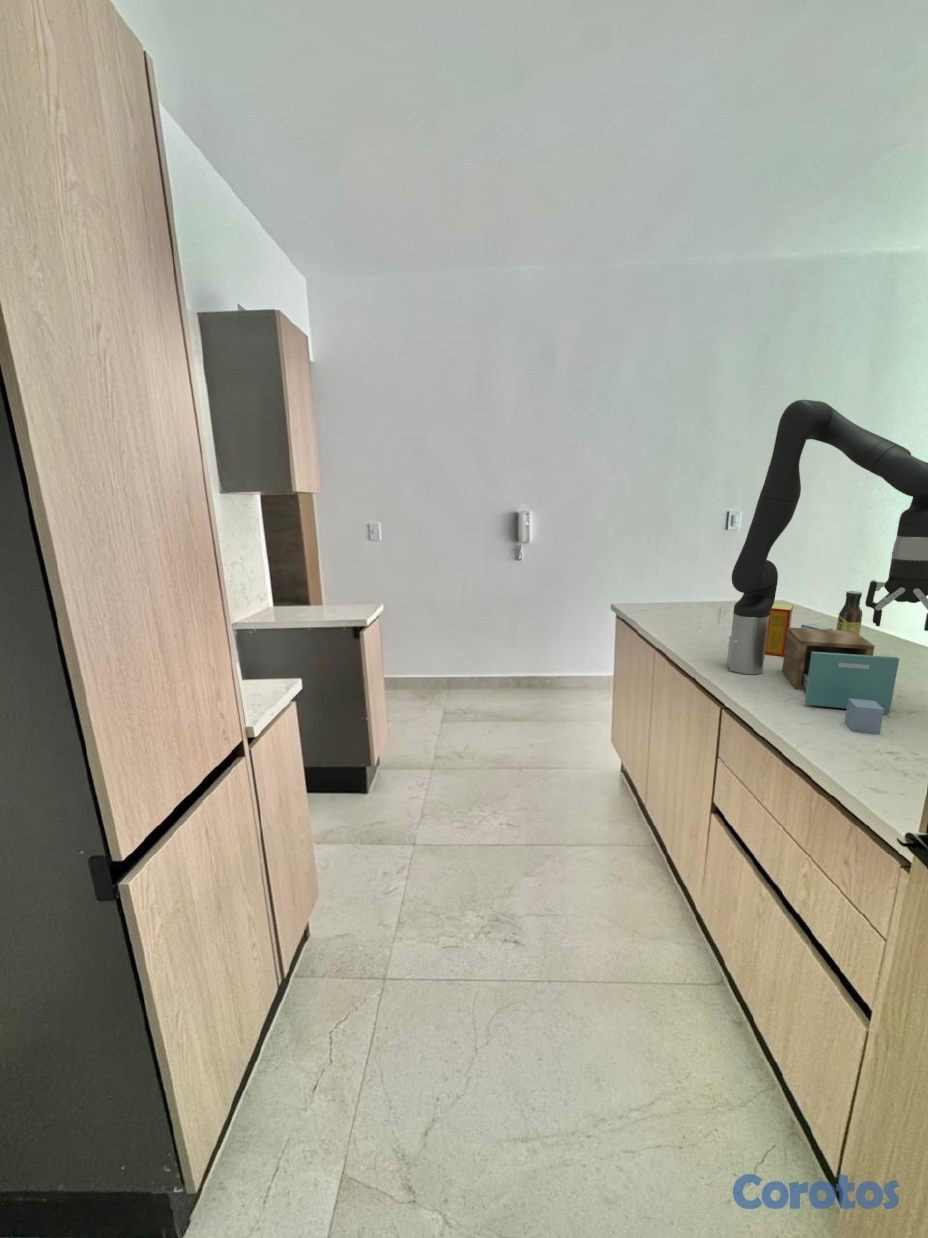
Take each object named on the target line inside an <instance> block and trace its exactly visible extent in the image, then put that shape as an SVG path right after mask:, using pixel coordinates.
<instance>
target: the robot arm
mask: <svg viewBox="0 0 928 1238" xmlns="http://www.w3.org/2000/svg"><path fill="white" fill-rule="evenodd" d="M807 440H809V441H810V440H813V441H816V442H820V443H824V444H828V445H830V446H832V447H834V448H836V449H837V450H838V451H840V452H842V454H844V455H845V456H846V457H847V458H848V459H849V460H850V461H852V463H854V464H855V465H856V466H857V465H858V466H859V467H860V468H862V469H864V470H866V471H868V472H869V473H871V474H874V475H875V476H877V477H880V478H882V479H883V480H884V481H885V482H886V483H888V484H889V485H890V486H891V487H892V488H893V489H895V490H896V491H898V492H899V493H901V494H904V495H906V496H909V497H912V499H911V503H910V504H909V505H910V506H909V507H908V508H907V509H905V510H904V511H902V512H901V514H900V517H899V519H898V520H899V521H898V526H897V532H896V536H895V537H896V538H895V541H894V544H893V548H892V551H891V559H890V567H889V572H888V578H887V580H886V581H885V582H883V581H877V580H875V579H873V580H870V581H869V586H868V589H867V594H866V598H865V602H864V603H865V606H866V607H867V608H871V609H873V615H872V616H873V617H872V623H873V624H875V627H880V626H881V621H882V615H883V609H884V607H886V606H887V605H889V604H891V603H892V602H894V601H895V602H897V603H906V602H908V603H910V604H917V603H919V602H920V603H921V604H922V605H923V606H924V607H925V609H926V610H927V611H928V598H927V597H928V462H926V461H925V460H921V459H919V458H917V457H916V456H914V455H912V452H911V451H910V450H909V449H907V448H906V447H904V446H902V445H900V444H898V443H896V442H893V441H892V440H889V439H887V438H885V437H883V436H881V435H878V434H876V433H874V432H871V431H870V430H867V429H865V428H863V427H862V426H859V425H858V424H857V423H854V422H853V421H851V420H850V419H848V418H847V417H846V416H844V415H843V414H841V412H839V411H837V410H836V409H835V408H834V407H832V406H831V405H830V404H828V403H826V402H824V401H821V400H810V399H798V400H795V401H793V402H791V403H790V404H789V405H788V406H786V408H785V409H784V411H783V412H782V415H781V417H780V418H779V422H778V427H777V431H776V437H775V441H774V445H773V451H772V455H771V458H770V461H769V466H768V469H767V472H766V475H765V478H764V479H765V480H764V482H763V485H762V488H761V491H760V493H759V496H758V500H757V503H756V506H755V510H754V513H753V517H752V520H751V523H750V525H749V529H748V532H747V535H746V538H745V540H744V544H743V546H742V549H741V550H740V553H739V555H738V558H737V560H736V562H735V564H734V565H733V569H732V573H731V583H732V586H733V588H734V589H735V590H736V591H737V592H739V593H741V594H742V596H741V598H740V599H739V600H738V601H737V602H736V603H734V605H733V613H732V622H731V624H732V625H731V632H730V633H731V634H730V635H729V641H728V650H727V651H728V652H727V660H726V666H727V668H728V671H729V672H734V673H739V674H744V675H760V674H762V673H763V671H764V667H765V666H764V665H765V663H764V662H765V657H766V655H765V647H766V639H767V630H768V621H769V614H770V610H771V608H772V606H773V604H774V603H775V599H776V592H777V587H778V580H779V574H778V573H779V572H778V569H777V566H776V565H775V563H773V562H772V561H771V560H769V559H768V556H769V554H770V551H771V549H772V547H773V546H774V545H775V542H776V541H777V540H778V538H779V537H780V536H781V535H782V534H783V532H784V531H785V529H786V528H787V527H788V525H789V524H790V522H791V521H792V519H793V517H794V515H795V512H796V509H797V506H798V504H799V500H800V496H801V492H802V491H801V490H802V483H801V474H800V461H801V457H802V453H803V450H804V448H805V445H806V442H807ZM881 588H884V589H885V590H886V591H887V594H886V595H884V597H882V599H880V600H879V601H878V602H875V601H874V599H875V594H876V592H879V591H880V590H881ZM923 630H924V631H925V632H928V612H926V616H925V621H924V627H923Z"/></svg>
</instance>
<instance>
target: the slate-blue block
mask: <svg viewBox="0 0 928 1238" xmlns="http://www.w3.org/2000/svg"><path fill="white" fill-rule="evenodd" d="M884 713H885V712H884V709H883V708H882V707H881V706H880V705H879V704H878V703H877V702H876V701H872V700H861V699H851V698H848V704H847V708H846V710H845V718H844V724H845V725H846V726H847V728H849V730H850V731H851V732H852V733H862V734H870V735H880V734H881V731H882V729H881V728H882V724H883V719H884ZM880 736H881V735H880Z"/></svg>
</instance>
